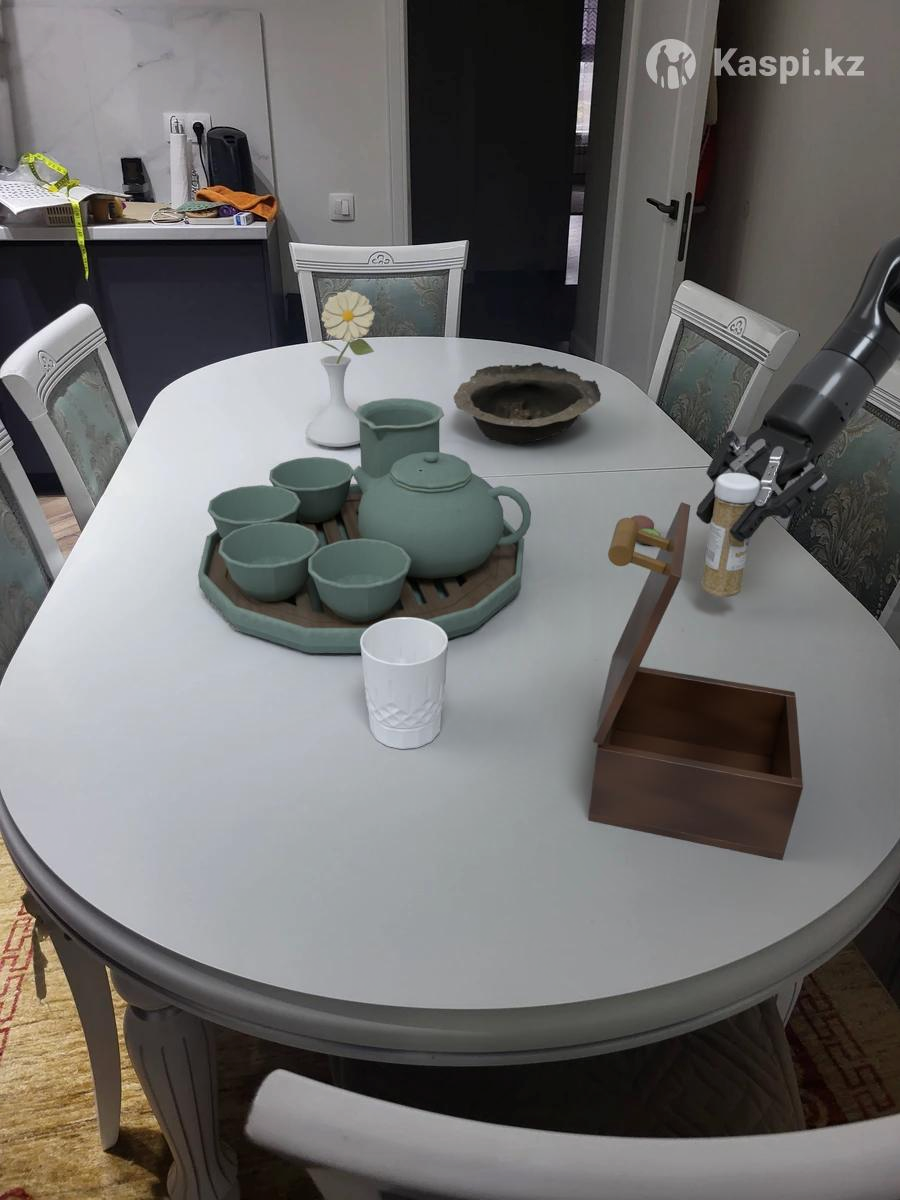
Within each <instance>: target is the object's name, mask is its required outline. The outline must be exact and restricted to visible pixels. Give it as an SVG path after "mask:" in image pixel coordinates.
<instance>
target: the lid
mask: <svg viewBox="0 0 900 1200" xmlns="http://www.w3.org/2000/svg"><path fill="white" fill-rule="evenodd" d="M690 511H691V505H690V504H688V503H686V502H680V504H679V505H678V508H677V511H676V513H675V516H674V517H673V520H672V521H671V524H670V526H669V528H668V531H667V533H666V536H665V537H663V536H661V535H660V536H658V535H655V534H652V533H649V532H647V531H644V530H641V529H639V525H638V523H637V522H636V521H635V520H634V519H632V518H631V517H623V518H621V519H619V520H618V521H617V522H616V525H615V528H614V532H613V536H612V538H611V542H610V546H609V549H608V553H607V556H608V559H609V561H610V562H611V564H613V565H615V566H616V567H625V566H628V565H629V564H633V565H636V566H639V567H640V568H641V567H642V568H644V569H647V570H650V571H649V573H648V576H647V578H646V580H645V582H644V584H643V587H642V589H641V592H640V593H639V596H638V598H637V600H636V603H635V605H634V607H633V609H632V611H631V613H630V616H629V618H628V620H627V623H626V625H625V627H624V629H623V631H622V634H621V636H620V638H619V641H618V643H617V645H616V647H615V649H614V652H613V654H612V657H611V661H610V664H609V668H608V669H609V670H608V673H607V679H606V682H605V687H604V691H603V695H602V699H601V705H600V707H599V709H600V710H599V713H598V717H597V721H596V726H595V730H594V734H593V739H592V742H593V743H594V744H596V745H598V744H600V745H602V744H603V742H604V740H605V738H606V736H607V734H608V732H609V730H610V728H611V725H612V723H613V721H614V719H615V717H616V715H617V713H618V711H619V709H620V706H621V704H622V702H623V700H624V698H625V696H626V694H627V692H628V689H629V687H630V685H631V683H632V681H633V679H634V677H635V675H636V673H637V670H638V668H639V667H641V664H642V662H643V659H644V657H645V655H646V654H647V652H648V650H649V647H650V645H651V643H652V641H653V638H654V636H655V634H656V632H657V630H658V628H659V626H660V624H661V621H662V620H663V617H664V615H665V614H666V611H667V609H668V607H669V605H670V602H671V600H672V598H673V596H674V594H675V592H676V590H677V588H678V586H679V583H680V581H681V579H682V574H683V566H684V559H685V552H686V543H687V535H688V528H689V519H690ZM637 541H638V542H640V541H641V542H644V543H647V544H646V545H648V544H649V546H653V547H654V548H658V549H659V551H658V553H657V556H656V557H655V558H653V557H651V556H648V555H645V554H644V553H641V552H637V551H635V549H636V544H637ZM641 542H640V543H641Z"/></svg>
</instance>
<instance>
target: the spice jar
mask: <svg viewBox="0 0 900 1200" xmlns="http://www.w3.org/2000/svg"><path fill="white" fill-rule="evenodd" d="M760 488H761V481H759V480H758V479H757V478H755V477H753V476H750V475H747V474H742V473H726V474H722V475H720V476H719V477H718V478H717V481H716V486H715V504H714V510H713V516H712V519H711V522H710V526H709V532H708V538H707V545H706V553H705V559H704V563H705V565H704V570H703V575H702V576H703V577H702V579H701V581H700V586H701V588H702V590H704V591H705V592H706V593H707V594H710V595H712V596H717V597H721V598H722V597H723V598H725V597H726V598H727V597H733V596H737V594H739V593H741V591H742V587H743V586H742V580H743V574H744V569H745V566H746V561H747V556H748V549H749V543H750V538H751V537H750V538H748V539H745V540H744V541H743V542H740V541H738V540H736V539H735V538H734V537H733V536H732V535H731V534H730V529H731V527H732V526H733V525H734V524H735V523H736V521H737V520H738V519H739V518H740V516H741V515H742V514H743V513H744V511H745V510H746V509H747V508H748V506H749V505H750V504H752V505H755V500H756V498H757V495H758V493H759V491H760Z"/></svg>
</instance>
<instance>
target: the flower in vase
mask: <svg viewBox="0 0 900 1200" xmlns="http://www.w3.org/2000/svg"><path fill="white" fill-rule="evenodd" d="M372 309H373V306H372V304H370V299H369V298H367V297H366V296H365V295H362V294H360V293H359V292H357V291H352V290H350V289H346V291H343V292H341V291H338V292H337V293H336V295H333V296H330V297H328V300H327V302H326V303H325V305H324V308H323V311H322V313H321V321H322V322H323V326H324V328H325V329H326V333H327V335H330V337H334V338H335V339H336V340H341V341H342V342H345V343H346V345H345V346H344V347H343V349H342V351H341V352H340V350H339V348H337V347H336V346H334V345H332V344H330V343H327V342H325V341H323V340H322V339H321V338H319V337H318V339H319V341H320V342H322V344H324V345H326V346H328V347H330V348H331V349H334V350H335V351H338V352H340V354H339V355H330V356H325V357H322V358H320V360H319V362H320V364H321V365H322V366H323V368H324V369H325V372H326V374H327V377H328V382H329V391H330V399H329V403H328V405H327V407H326V408H325V409H324V410H323V411H321V412H320V413H319V414H318V415H317V416H315V417H314V418H313V419H312V420H311V421H310V422H309V423H308V424H307V426H306V429H305V432H304V433H305V436H306V437H307V438H308V440H309V441H311V442H312V443H315V444H317V445H321V446H325V447H333V448H342V447H343V448H344V447H351V446H355V445H358V444H360V427H359V419H358V418H357V417H356V416H355V415H354V414H355V412H356V410H354V409H352V408H351V407H350V406H349V405H348V403H347V402H346V399H345V398H346V397H345V375H346V371H347V368H348V367H349V365H350V363H351V361H352V359H351V358H350V357H347V356H344V354H345V352H346V351H347V349H348V347H349V348H350V350H351V351H352V352H353V354H354V355H356V356H364V355H368V354H371V353H372V354H373V353H374V352H375V350H374V349H373V348H372V347H371V345H370V344H369V343H368V342H367V341H366V340H364V339H363V336H367V334H368V332H369V331H370V327H371V326H372V325H373V320H374V319H375V314H376V313H375V311H373V310H372Z"/></svg>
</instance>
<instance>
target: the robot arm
mask: <svg viewBox="0 0 900 1200" xmlns="http://www.w3.org/2000/svg"><path fill="white" fill-rule="evenodd" d="M886 306H887V307H888V308H890V310H892V311H894V312H895V313H896V314H897V315H899V316H900V234H897V235H896V236H893V237H891V238H890V239H889V240H887V241H886V242H885V243H883V245H882V246H881V247H880V248H879V249H878V251H876V252H875V255H874V256H873V258H872V260H871V262H870V264H869V266H868V267H867V270H866V272H865V275H864V277H863V279H862V282H861V285H860V287H859V290H858V292H857V294H856V297H855V299H854V301H853V303H852V305H851V307H850V309H849V310H848V312H847V314H846V316H845V317H844V319H843V320H842V321H841V323H840V324H839V326H838V327H837V328H836V330H835V331H834V332H833V333H832V334H831V336H830V337H829V338H828V340H827V341H826V342H825V343H824V345H822V347H821V348H820V349H819V351H818V352H817V353H816V354H815V355H814V356H813V358H811V359H810V360H809V361H808V362H807V363H806V364H805V365H804V366H803V367H802V368H801V369H800V371H798V373H797V374H796V376H794V378H793V379H792V380H791V382H790V383H789V385H788V386H787V387H786V388H785V390H783V392H782V393H781V394H780V396H778V397H777V399H776V400H775V402H774V403H773V404H772V406H771V407H770V408H769V409H768V410H767V412H766V413H765V414H764V416H763V420H762V423H761V426H760V427H759V428H758V429H757V430H755V431H754V432H752V433H750V434H749V435H748V436H741V435H737V434H736V433H735V431H733V430H729V431H726V433H725V434H724V436H723V438H722V440H721V441H720V444H719V446H718V447H717V450H716V452H715V454H714V456H713V458H712V459H711V462H710V464H709V466H708V468H707V470H706V475H707V476H708V478H709V479H710V481H712V483H713V485H712V488H711V489H710V490H709V492H708V493H706V495H705V497H704V498H703V499H702V501H700V502H699V504H698V505H697V508H696V510H697V511H696V513H695V514H696V517H698V519H699V520H700V521H701V522H702V523H704V524H706V525H709V524H711V519H712V516H713V510H714V504H715V486H716V481H717V478H718V477H719V476H720V475H722V474H726V473H742V474H747V475H750V476H753V477H755V478H757V479H758V480H759V482H760V490H759V493H758V495H757V498H756V500H755V505H752V504H750V505H749V506H748V508H747V509H746V510H745V511H744V513H743V514H742V515H741V516H740V518H739V519H738V520H737V521H736V523H735V524H734V525H733V526H732V527H731V529H730V534H731V535H732V536H733V537H734V538H735V539H736V540H738V541H740V542H743V541H744V540H745V539H748V538H751V537H752V536H753V535H754V534H755V533H756V531H757V530H758V529H759V528H760V526H761V525H762V524H763V523H764V521H765V520H767V518H770V517H773V516H774V517H775V516H776V517H777V516H778V517H780V518H781V519H783V520H785V519H788V518H790V517H791V516H792V515H794V514H795V513H796V512H797V511H799V510H800V509H801V508H802V507H804V506H805V505H806V504H808V503H809V502H810V501H811V500H812V499H814V498H815V497H816V496H817V495H818V494H820V493H821V492H823V490H825V489H826V488H827V487H828V486H829V485H830V480H829V479H828V476H827V475H826V474H825V472H824V471H823V470H822V468H821V467H820V466H816V461H817V459H818V458H821V457H823V456H824V455H825V454H826V452H827V451H828V450H829V448H830V447H831V446H832V445H833V444H834V442H835V441H836V440H837V438H839V436H840V435H841V434H842V432H843V431H844V430H845V429H846V428H847V426H848V425H849V424H850V422H851V421H853V419H854V418H855V416H856V415H857V414H858V413H859V412H860V410H861V409H862V407H863V406H864V405H865V403H866V402H867V400H868V398H869V397H870V395H871V393H872V392H873V390H874V389H875V388H876V386H877V385H878V384H879V383H880V382H881V381H882V379H883V378H884V377H885V376H886V375H887V373H888V372H889V370H890V369H891V368H892V367H893V366H894V364H895V363H896V362H897V361H898V359H900V330H899V329H898V327H897V326H896V325H895V323H894V322H893V321H892V320H891V318H890V317H889V314H887V311H886ZM743 470H746V472H745V473H744V471H743ZM795 479H796V480H795ZM793 480H795V481H794V482H793V483H792V484H791V482H792V481H793Z"/></svg>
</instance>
